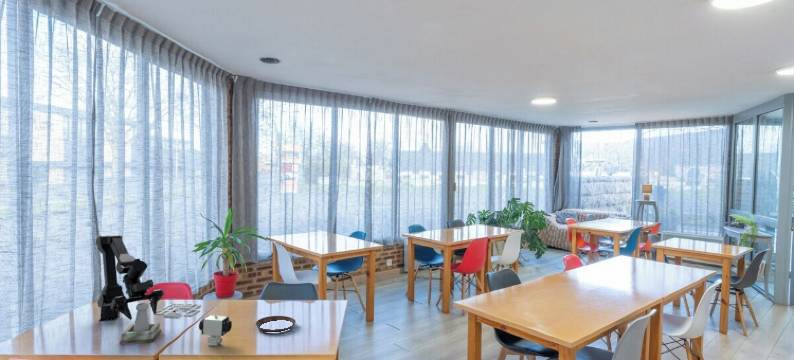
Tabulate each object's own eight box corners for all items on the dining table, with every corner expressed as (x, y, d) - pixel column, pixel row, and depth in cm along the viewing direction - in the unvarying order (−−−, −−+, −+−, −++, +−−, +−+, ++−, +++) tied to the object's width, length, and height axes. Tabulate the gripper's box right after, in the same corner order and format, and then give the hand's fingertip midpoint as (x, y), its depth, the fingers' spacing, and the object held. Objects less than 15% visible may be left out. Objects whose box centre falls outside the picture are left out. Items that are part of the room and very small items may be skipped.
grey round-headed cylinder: (142, 331, 173) (144, 300, 173) (152, 333, 171) (153, 302, 171) (129, 335, 167) (130, 304, 168) (139, 338, 165) (140, 306, 166)
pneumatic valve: (225, 347, 163) (227, 318, 163) (197, 345, 163) (199, 316, 163) (232, 342, 168) (233, 313, 168) (204, 340, 169) (206, 311, 169)
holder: (119, 344, 161) (119, 334, 161) (129, 333, 173) (129, 323, 173) (153, 341, 165) (153, 332, 165) (160, 331, 176) (161, 322, 177)
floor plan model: (199, 320, 193) (199, 316, 193) (148, 317, 194) (148, 313, 194) (218, 308, 211) (218, 304, 211) (172, 305, 213) (172, 301, 213)
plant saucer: (302, 329, 187) (303, 322, 187) (267, 339, 174) (268, 332, 174) (282, 319, 199) (282, 313, 199) (248, 327, 186) (248, 321, 186)
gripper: (114, 277, 164) (124, 311, 157) (163, 270, 179) (173, 300, 172) (106, 293, 168) (115, 326, 162) (154, 285, 184) (164, 315, 177)
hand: (143, 316), depth 168 cm, fingers open, 9 cm apart
